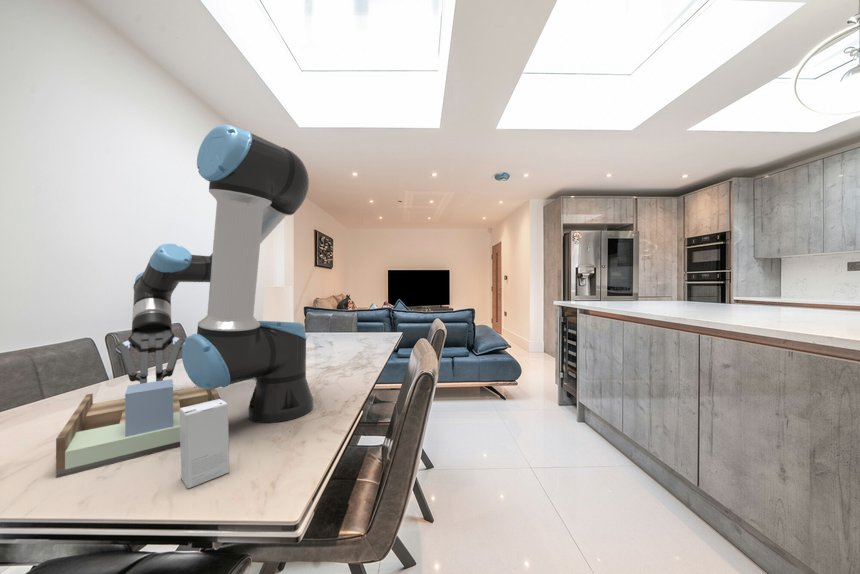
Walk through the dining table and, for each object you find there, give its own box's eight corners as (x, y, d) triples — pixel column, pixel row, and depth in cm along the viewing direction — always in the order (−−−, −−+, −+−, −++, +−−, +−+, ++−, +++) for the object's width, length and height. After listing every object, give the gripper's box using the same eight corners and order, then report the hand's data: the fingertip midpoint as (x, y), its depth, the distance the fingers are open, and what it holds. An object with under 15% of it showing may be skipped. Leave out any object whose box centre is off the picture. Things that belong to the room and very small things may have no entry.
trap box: (86, 421, 77) (86, 394, 77) (208, 399, 93) (208, 376, 93) (56, 477, 54) (56, 438, 54) (224, 435, 70) (224, 404, 70)
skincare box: (221, 464, 58) (221, 397, 58) (230, 473, 55) (230, 402, 55) (178, 480, 53) (178, 406, 53) (186, 491, 50) (185, 413, 50)
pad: (76, 447, 62) (76, 432, 62) (212, 417, 77) (212, 405, 77) (65, 469, 55) (65, 452, 55) (218, 431, 69) (218, 418, 69)
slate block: (128, 424, 66) (128, 385, 66) (172, 416, 70) (172, 379, 70) (125, 437, 60) (125, 394, 60) (173, 426, 65) (173, 386, 65)
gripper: (184, 328, 88) (188, 406, 75) (117, 332, 79) (109, 421, 67) (185, 309, 84) (190, 389, 71) (115, 312, 75) (106, 403, 63)
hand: (151, 404), depth 69 cm, fingers closed
